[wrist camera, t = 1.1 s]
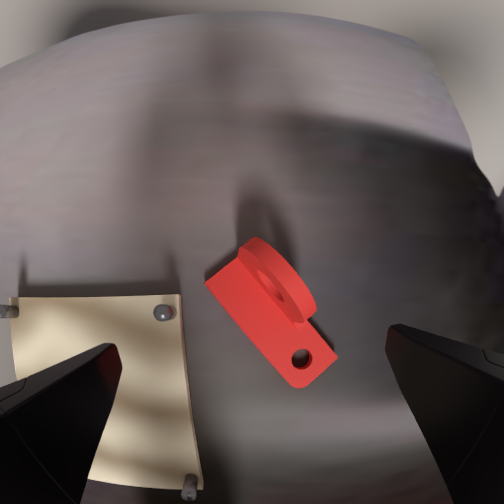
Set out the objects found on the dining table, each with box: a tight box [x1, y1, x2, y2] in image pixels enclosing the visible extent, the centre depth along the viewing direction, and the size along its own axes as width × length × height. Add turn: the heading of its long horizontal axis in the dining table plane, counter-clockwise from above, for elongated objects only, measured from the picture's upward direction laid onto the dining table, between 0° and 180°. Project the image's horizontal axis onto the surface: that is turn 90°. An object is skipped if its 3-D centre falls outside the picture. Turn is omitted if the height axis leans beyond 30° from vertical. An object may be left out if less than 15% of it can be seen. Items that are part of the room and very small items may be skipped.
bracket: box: [204, 237, 338, 388], centre depth 20 cm, size 12×4×8 cm, turn 40°
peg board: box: [0, 294, 204, 501], centre depth 19 cm, size 18×18×4 cm
